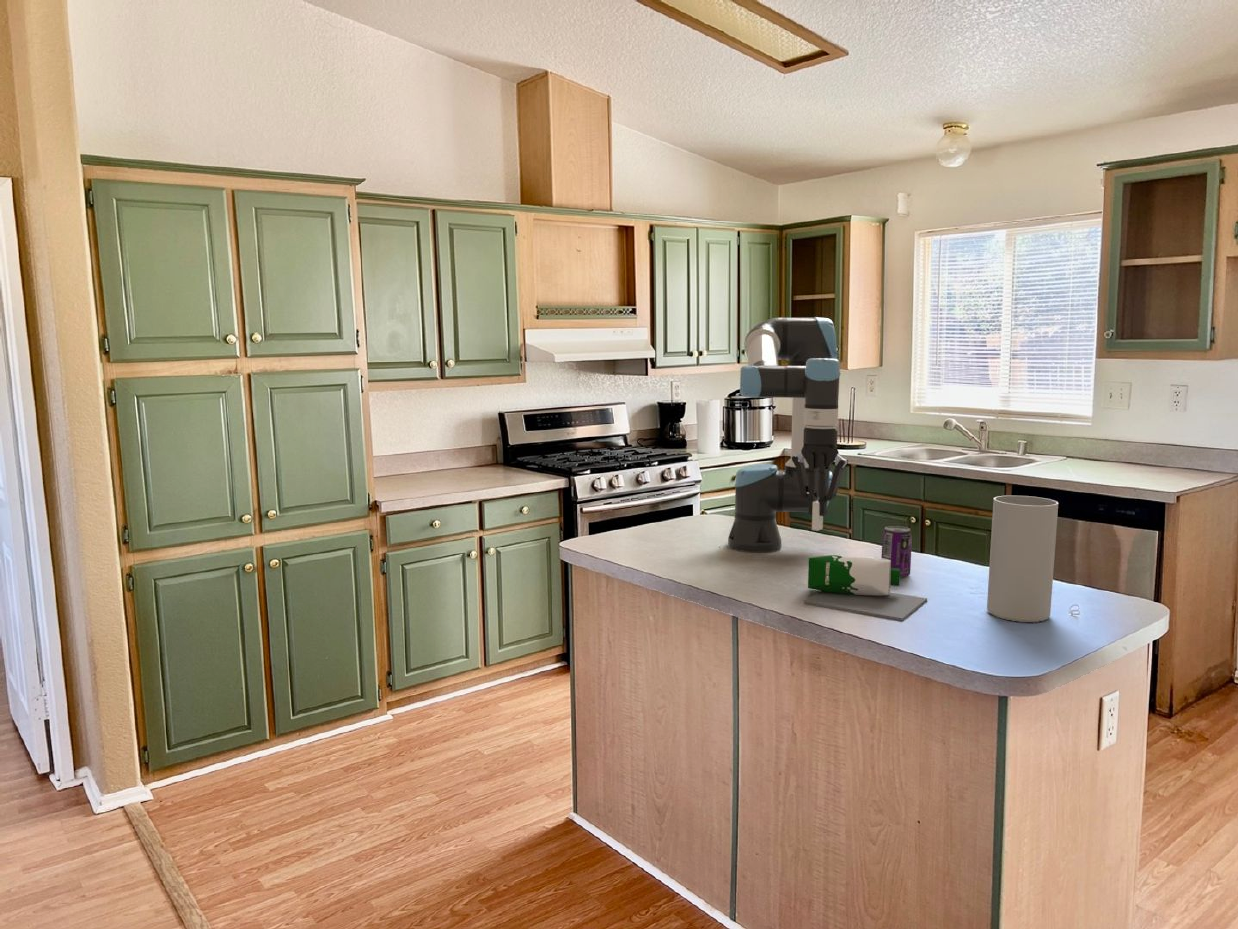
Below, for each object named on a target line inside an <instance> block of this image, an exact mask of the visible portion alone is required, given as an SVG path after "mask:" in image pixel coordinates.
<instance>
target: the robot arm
mask: <svg viewBox="0 0 1238 929" xmlns="http://www.w3.org/2000/svg"><path fill="white" fill-rule="evenodd" d="M743 347H744V352H745V354H746V356H747V365H742V366H741V367H740V371H739V374H740V375H739V380H740V381H739V394H740V395H741V396H742V397H746V398H753V399H757V398H776V399H777V398H783V399H785V398H786V399H787V398H788V399H789V398H790V399H792V407H791V408H792V410H791V412H792V414H791V443H790V444H791V445H790V447H791V448H790V459H788V461H787V462H785V464H784V469H783V470H782V469H779V468H778V465H776V464H767V463H766V464H765V463H764V464H755V465H748V466H743V467H742V468H740V469H738V470H737V471H736V474H735V482H734V483H735V484H734V487H735V489H734V490H735V493H734V495H735V497H734V520H733V523H732V525H731V529H730V530H729V535H728V538H727V546H728V548H731V549H733V550H736V551H740V552H749V553H771V552H776V551H779V550H780V548H782V537H781V534H780V530H779V528H778V523H777V512H788V513H789V512H791V513H792V512H797V513H799V512H800V513H801V512H802V513H803V512H804V513H808V514H809V515H810V516H812V517H811V530H812V531H817V532H818V531H820V530H822V529H824V528H823V527H824V517H825V516H827V513H828V505H829V503H830V501H832V500H835V499H836V497H837V494H838V490H839V487H840V483H841V480H842V476H843V472H844V469H845V468H846V466H847V465H848V463H849V460H848V459H847V458H843V457H842V456H841V454H839V450H838V429H837V426H838V425H839V397H840V396H839V394H840V376H841V371H840V369H841V368H840V367H841V365H840V363H841V362H840V361H839V359H837V358H838V353H837V352H838V345H837V336H836V331H835V325H834V322H833V321H832V319H830V318H827V317H818V316H813V317H812V316H811V317H803V316H802V317H782V316H781V317H772V318H770V319H766V320H763V321H761V322H759V323H758V324H756V325H755V326H753V328H751V329H750V330H749V332H748V333H747V335H746V336H745V339H744V345H743ZM779 360H781V361H787V365H779ZM833 463H834V464H835V467H834V469H833V472H832V471H831V465H832V464H833Z"/></svg>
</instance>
